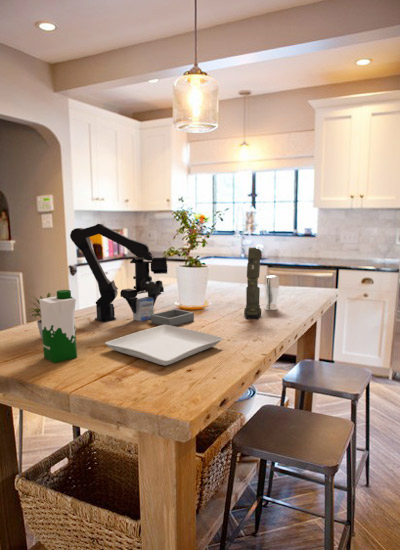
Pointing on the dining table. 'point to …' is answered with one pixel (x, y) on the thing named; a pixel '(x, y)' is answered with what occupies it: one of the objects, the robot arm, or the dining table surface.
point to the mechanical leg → (253, 284)
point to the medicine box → (144, 309)
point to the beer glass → (271, 291)
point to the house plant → (39, 314)
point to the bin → (172, 317)
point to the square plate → (164, 344)
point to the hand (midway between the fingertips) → (143, 311)
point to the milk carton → (58, 327)
